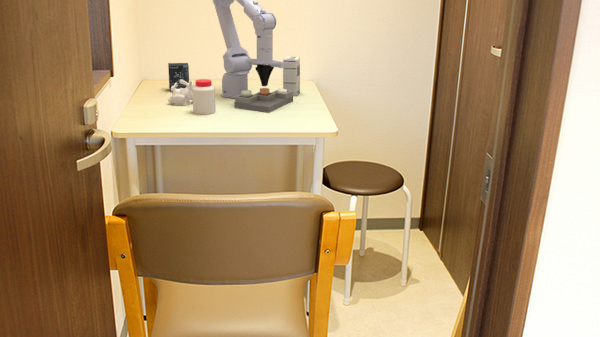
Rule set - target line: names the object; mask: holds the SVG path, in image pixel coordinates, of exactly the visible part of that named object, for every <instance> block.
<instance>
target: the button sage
mask: <svg viewBox="0 0 600 337" xmlns="http://www.w3.org/2000/svg"><path fill="white" fill-rule="evenodd" d="M251 94H252V90H243V91H241V97H244V98H250V97H251Z"/></svg>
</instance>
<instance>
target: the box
mask: <svg viewBox="0 0 600 337" xmlns="http://www.w3.org/2000/svg"><path fill="white" fill-rule="evenodd" d="M167 64H168V65H167V66H168V67H167V68H168V86H169V87H168V88H169V92H170V91H171V87H172V86H174V84H175V83H176V82H177V84H176V85H178V86H177V87H175V88H176V89H180V88H186V85H184V84H181V83H180V82H179V81H180V79H182V80H184V81H186V82H187V83H189V82H190V75H189V74H190V68H189V67H190V66H189V63H188V62H173V63H172V62H168V63H167Z"/></svg>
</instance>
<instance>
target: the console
mask: <svg viewBox="0 0 600 337" xmlns="http://www.w3.org/2000/svg"><path fill="white" fill-rule="evenodd" d="M292 102H294V96H293V91H289V90H287V93H277V89H275V90H273V91H272V92H270V91H269V95H266V96H265V95H260V91H259V92H256V93H254V94H252V95H251V97H250V98H244V97H241V95H238V96H236V97H235V98H234V102H233V103H234V109H241V110H248V111H255V112H262V113H268V114H269V113H271V112H273V111H275V110H277V109H280V108H281V107H283V106H286V105H288V104H289V103H290V104H291V103H292Z"/></svg>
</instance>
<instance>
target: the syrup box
mask: <svg viewBox="0 0 600 337" xmlns="http://www.w3.org/2000/svg"><path fill="white" fill-rule="evenodd" d="M282 62H284V67H283V68H282V89H287V90H289V91H293V97H297V96H298V95H299V94H300V93H301V58H300V56H293V55H291V56H285V57H284V58H283V59H282Z"/></svg>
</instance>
